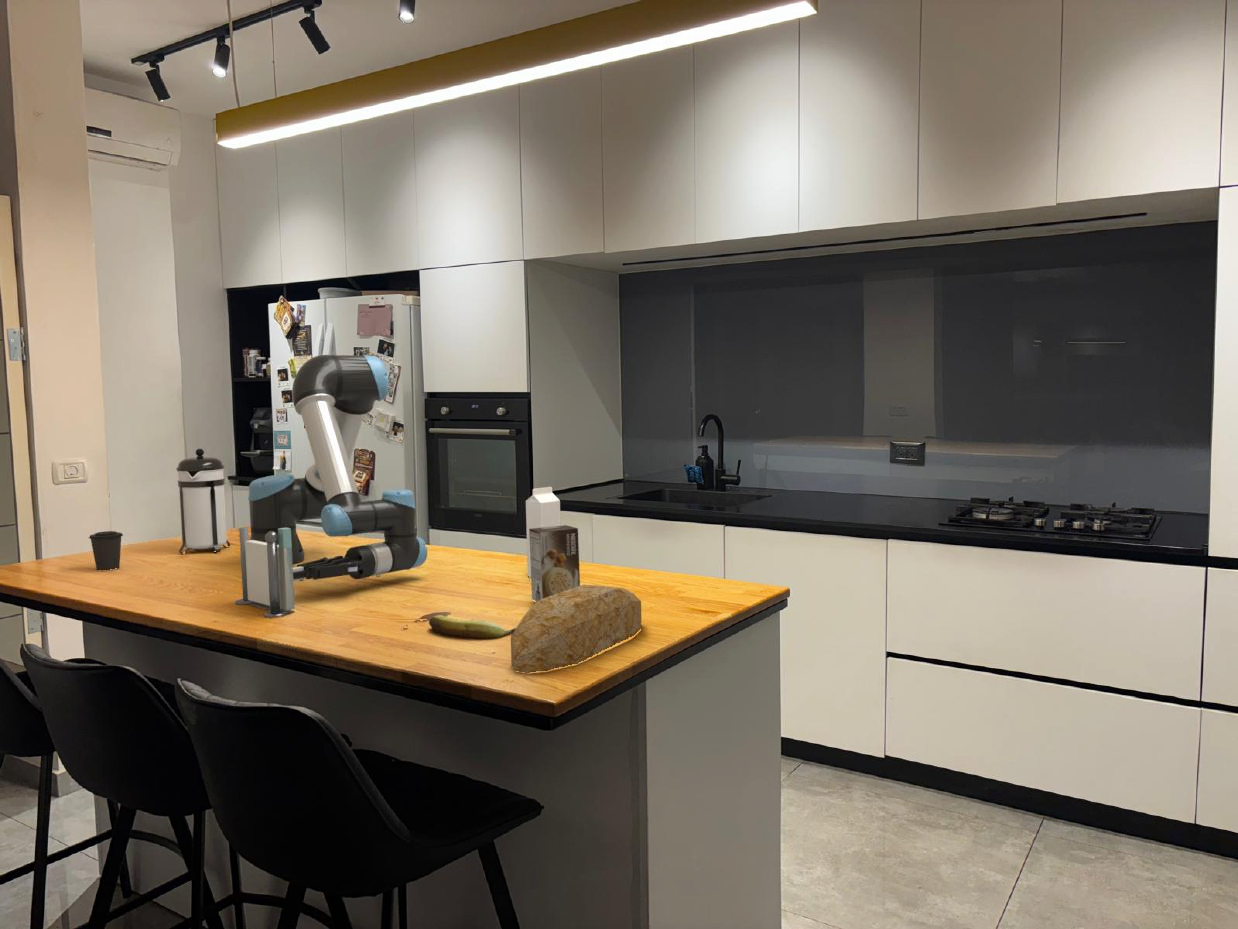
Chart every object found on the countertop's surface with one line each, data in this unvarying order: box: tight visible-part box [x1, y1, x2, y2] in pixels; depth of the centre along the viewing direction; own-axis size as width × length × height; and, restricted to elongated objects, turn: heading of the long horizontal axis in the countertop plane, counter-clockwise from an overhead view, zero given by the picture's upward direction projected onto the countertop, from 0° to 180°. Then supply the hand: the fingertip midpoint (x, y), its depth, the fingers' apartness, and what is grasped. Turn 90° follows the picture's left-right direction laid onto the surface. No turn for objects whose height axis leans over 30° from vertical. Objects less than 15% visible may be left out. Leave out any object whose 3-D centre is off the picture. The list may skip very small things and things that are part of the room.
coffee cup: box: [88, 530, 124, 571], centre depth 251 cm, size 8×8×10 cm
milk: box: [525, 486, 561, 578], centre depth 231 cm, size 6×6×22 cm
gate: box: [238, 526, 296, 610], centre depth 203 cm, size 19×2×17 cm, turn 49°
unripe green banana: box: [402, 611, 517, 655], centre depth 180 cm, size 35×27×4 cm
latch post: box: [263, 531, 288, 618], centre depth 197 cm, size 4×4×18 cm
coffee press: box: [175, 448, 231, 554], centre depth 278 cm, size 17×16×30 cm
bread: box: [510, 584, 643, 673], centre depth 170 cm, size 36×11×10 cm, turn 149°
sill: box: [234, 598, 295, 615], centre depth 205 cm, size 20×5×1 cm, turn 50°
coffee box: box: [529, 524, 581, 603], centre depth 205 cm, size 9×6×16 cm
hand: (275, 577), depth 203 cm, fingers closed
